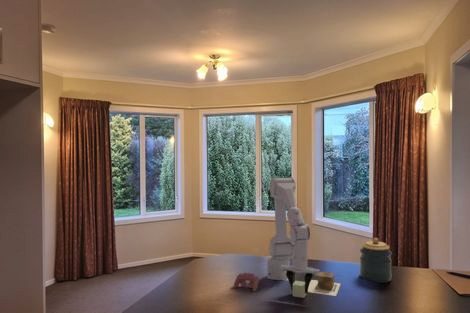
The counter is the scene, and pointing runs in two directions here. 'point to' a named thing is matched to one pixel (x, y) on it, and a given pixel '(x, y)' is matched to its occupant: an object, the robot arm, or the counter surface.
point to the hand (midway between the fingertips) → (299, 291)
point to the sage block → (299, 289)
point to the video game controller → (250, 277)
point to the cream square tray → (314, 289)
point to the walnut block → (326, 280)
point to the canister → (375, 261)
